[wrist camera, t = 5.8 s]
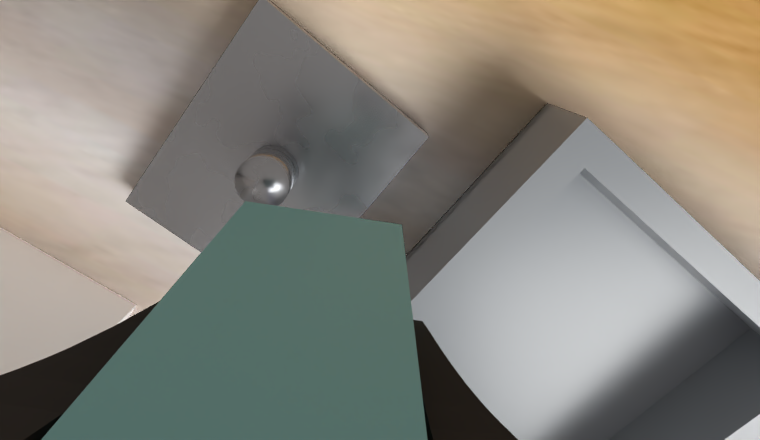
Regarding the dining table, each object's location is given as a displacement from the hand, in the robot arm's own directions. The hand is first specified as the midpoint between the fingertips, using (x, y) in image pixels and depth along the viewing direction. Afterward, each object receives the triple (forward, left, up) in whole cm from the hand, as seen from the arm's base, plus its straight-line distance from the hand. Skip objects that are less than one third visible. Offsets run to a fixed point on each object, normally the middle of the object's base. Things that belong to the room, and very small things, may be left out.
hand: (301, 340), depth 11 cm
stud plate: (0, +3, -10) cm, 11 cm away
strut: (0, 0, -3) cm, 3 cm away
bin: (+1, -12, -10) cm, 16 cm away
